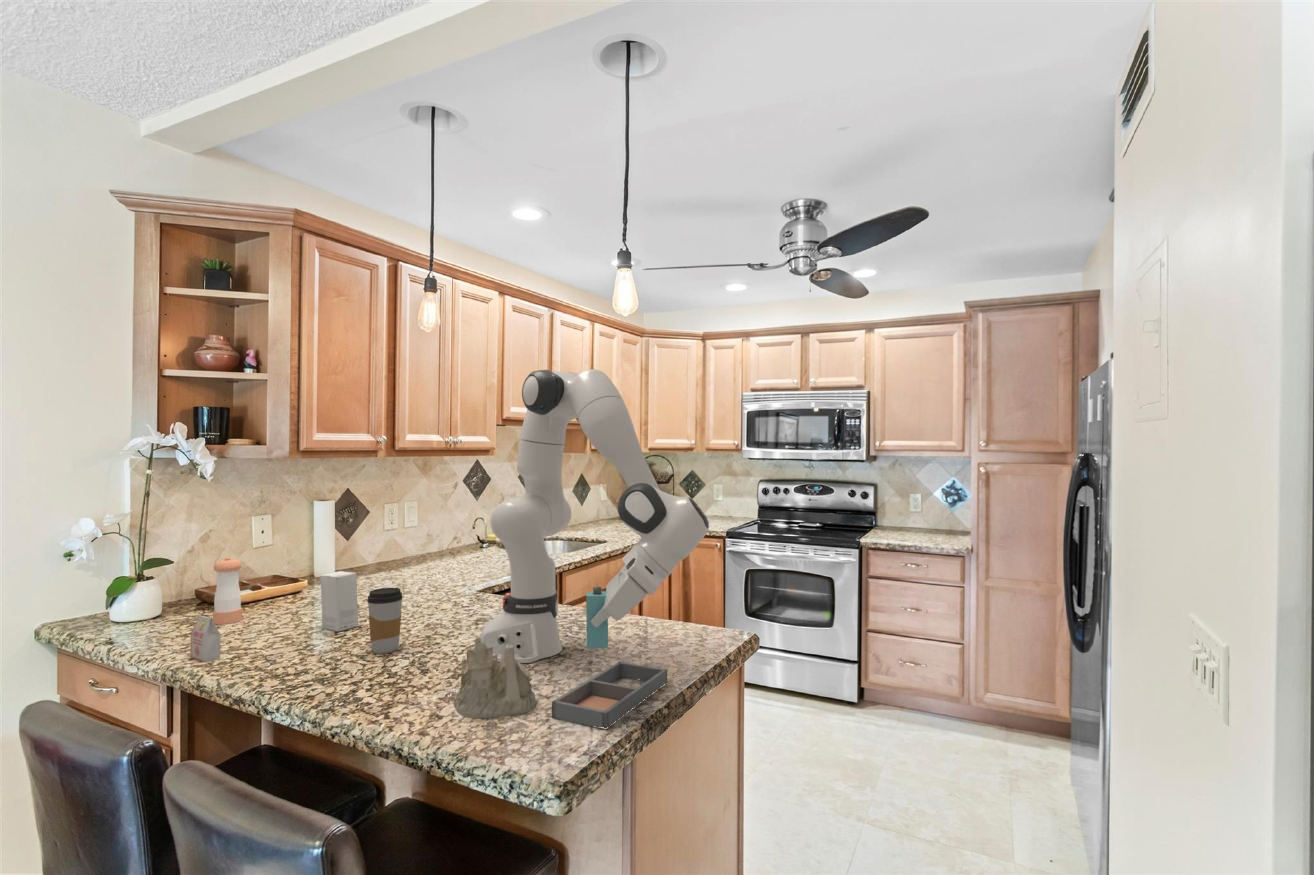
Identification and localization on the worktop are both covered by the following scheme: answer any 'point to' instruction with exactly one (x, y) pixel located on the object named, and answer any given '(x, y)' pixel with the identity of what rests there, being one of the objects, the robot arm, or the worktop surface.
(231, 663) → the worktop surface
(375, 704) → the worktop surface
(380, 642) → the coffee cup
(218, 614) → the salt shaker
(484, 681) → the castle ruin ornament
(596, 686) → the slot frame
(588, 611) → the teal plug
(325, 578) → the skincare box
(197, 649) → the gable top carton
